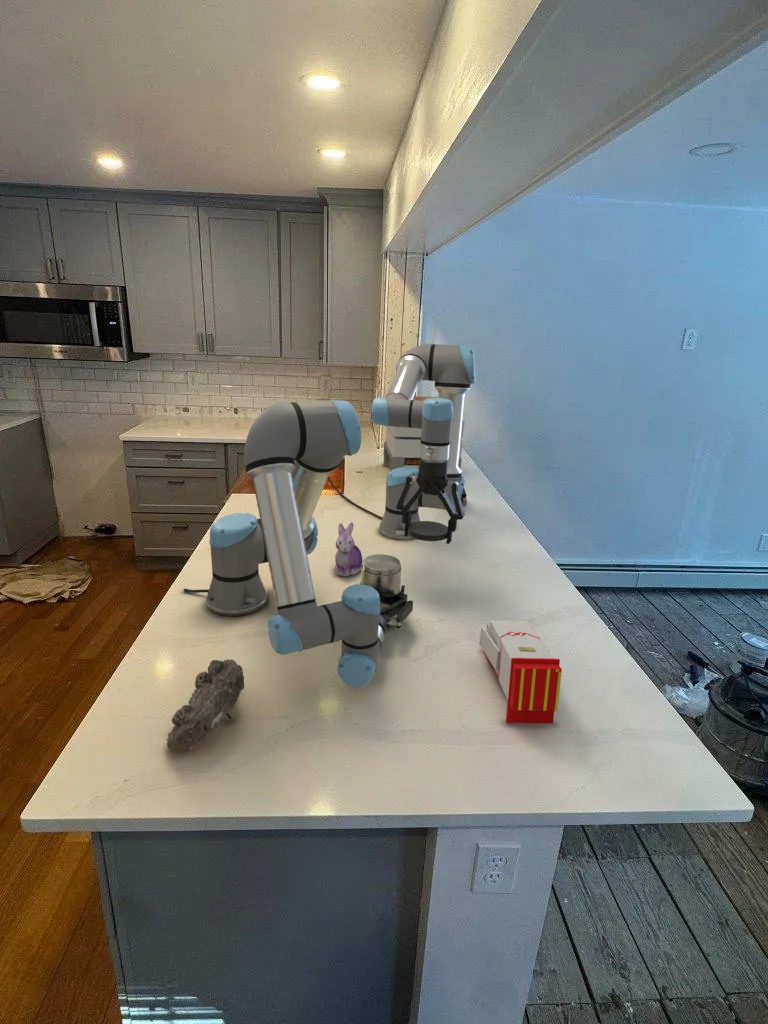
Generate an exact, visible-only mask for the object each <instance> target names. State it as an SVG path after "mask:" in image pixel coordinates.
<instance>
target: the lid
mask: <svg viewBox="0 0 768 1024" xmlns="http://www.w3.org/2000/svg"><path fill="white" fill-rule="evenodd" d="M447 531H448V525H445V524H444V523H441V522H438V521H431V520H420V521H418V522H413V523H411V524H409V526H408V534H409V536H411V537H413V538H415V539H414V540H418V541H423V542H440V541H444V540H447Z"/></svg>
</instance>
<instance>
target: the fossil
mask: <svg viewBox="0 0 768 1024" xmlns="http://www.w3.org/2000/svg"><path fill="white" fill-rule="evenodd" d="M243 670H244V669H243V667H242V665H240V664H237V662H236V661H235V660H234V659H232V658H231V659H227V658H226V659H224V660H223V661H222V660H217V659H212V660H211V661H210V663H209V665H208V666H207V671H201V672H199V673H198V674H197V675H196V676H195V680H194V684H195V685H194V687H195V689H194V690H193V693H192V694H191V697H190V698H189V700H188V704H184V705H182V706H181V707H180V709H177V710H176V711H175V713H174V715H173V716H172V718H171V723H172V724H173V727H172V730H171V731H170V732H168V734H167V738H166V741H167V742H166V745H167V749H168V750H169V751H173V752H174V753H176V754H178V753H182V752H188V751H189V752H192V751H193V750H195V748H196V747H197V746H199V744H200V743H201V742H203V741H204V740H205V739H206V738H207V737H208V736H209V735H210V734H211V733H212V732H214V730H215V729H217V727H218V726H219V724H220V722H221V721H222V720H223V719H224V718H225V716H226V717H227V719H229V720H233V717H232V715H230V714H229V710H230V709H231V708H234V706H235V704H236V703H237V702H238V699H239V697H240V695H241V693H242V691H243V690H245V689H244V688H245V675H244V671H243Z"/></svg>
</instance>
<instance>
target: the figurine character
mask: <svg viewBox="0 0 768 1024" xmlns="http://www.w3.org/2000/svg"><path fill="white" fill-rule="evenodd" d="M461 502H462V506H463V507H464V508H465V507H467V503H468V498H467V492H466V489H465V487H463V492H462V496H461Z"/></svg>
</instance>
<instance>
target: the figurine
mask: <svg viewBox="0 0 768 1024" xmlns="http://www.w3.org/2000/svg"><path fill="white" fill-rule="evenodd" d="M354 525H355V523H354V522H353V521H351V522H349V524H348V525H347V526H346V528H345V527H344V525H343V523H342V522H339V523H338V529H337V530H338V536H337V538H336V541H335V548H336V549H337V551H336V553H335V554H334V555H335V557H334V563H335V566H334V571H335V574H336V575H337V576H341V577H349V576H353V575H356V574H358V573H359V572H361V566H362V563H363V555H362V551H361V550H360V548H359V546H357V545H356V544H355V540H354V538H353V536H352V534H353V531H354Z"/></svg>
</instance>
